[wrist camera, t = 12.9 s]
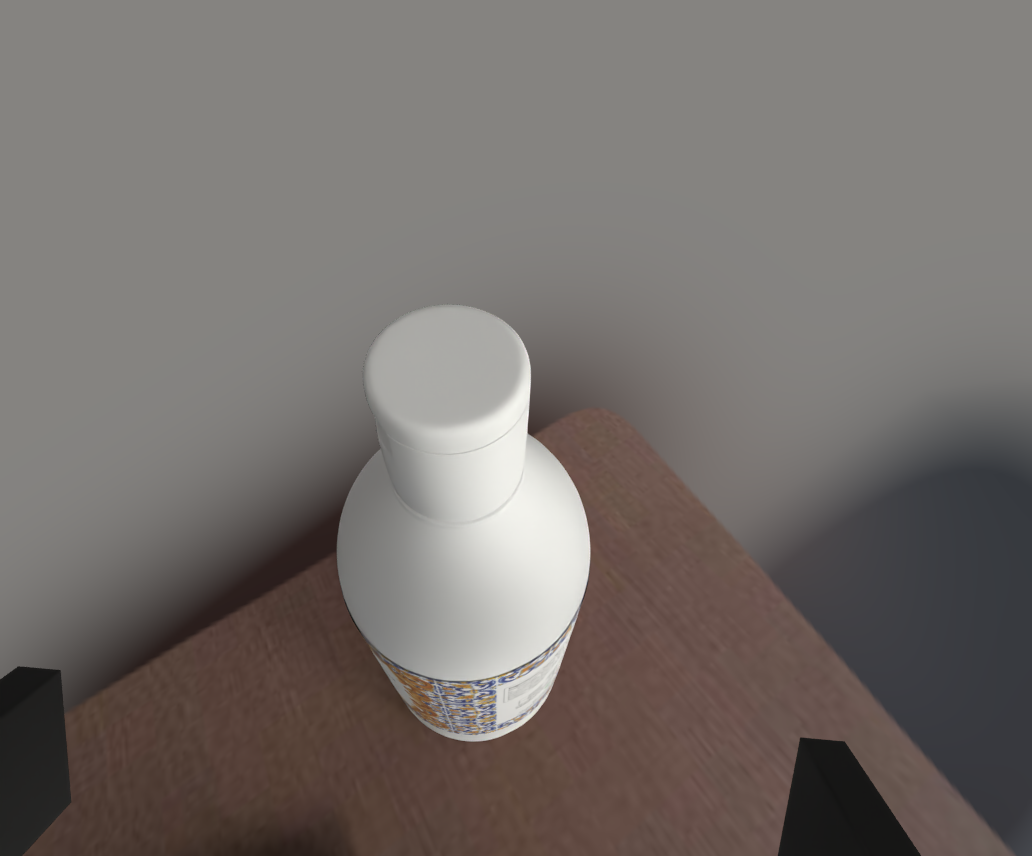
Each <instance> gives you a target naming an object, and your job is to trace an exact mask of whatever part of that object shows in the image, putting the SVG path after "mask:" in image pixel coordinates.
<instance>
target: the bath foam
mask: <svg viewBox="0 0 1032 856" xmlns="http://www.w3.org/2000/svg"><path fill="white" fill-rule="evenodd" d="M363 386H364V392H365V396H366V399H367V402H368V405H369V407H370V409H371V411H372V413H373V415H374V417H375V423H376V431H377V436H378V440H379V444H380V449H379V450H378V451H377V452H376V453H375V455H374V456H373V457H372V458H371V459H370V460H369V461H368V463H367V464H366V465H365V467H364V468H363V469H362V471H361V472H360V474H359V475H358V477H357V479H356V480H355V482H354V484H353V486H352V488H351V490H350V492H349V495H348V497H347V499H346V502H345V505H344V508H343V511H342V515H341V519H340V524H339V531H338V538H337V565H338V573H339V579H340V584H341V589H342V593H343V597H344V601H345V604H346V606H347V609H348V611H349V614H350V616H351V618H352V620H353V622H354V623H355V625H356V627H357V628H358V630H359V631H360V633H361V635H362V636H363V638H364V639H365V641H366V643H367V644H368V646H369V647H370V649H371V650H372V652H373V654H374V655H375V657H376V658H377V660H378V662H379V663H380V665H381V666H382V668H383V670H384V671H385V673H386V674H387V676H388V677H389V679H390V681H391V682H392V684H393V685H394V687H395V689H396V690H397V692H398V693H399V695H400V696H401V698H402V699H403V701H404V702H405V703H406V705H407V706H408V708H409V709H410V710H411V712H412V713H413V714H414V715H415V716H416V717H417V718H418V719H419V720H420V721H421V722H422V723H423V724H425V725H426V726H427V727H429V728H430V729H432V730H433V731H435V732H437V733H439V734H441V735H444V736H446V737H449V738H452V739H456V740H462V741H485V740H490V739H494V738H497V737H500V736H502V735H505V734H507V733H509V732H511V731H513V730H515V729H517V728H518V727H520V726H521V725H523V724H524V723H526V722H527V721H528V720H529V719H530V718H531V717H532V716H533V715H534V714H535V713H536V712H537V711H538V710H539V708H540V707H541V706H542V704H543V703H544V701H545V700H546V698H547V696H548V694H549V692H550V690H551V688H552V685H553V683H554V680H555V678H556V676H557V673H558V670H559V667H560V664H561V661H562V659H563V656H564V653H565V650H566V647H567V644H568V641H569V639H570V636H571V633H572V630H573V627H574V624H575V621H576V618H577V616H578V613H579V610H580V607H581V604H582V601H583V598H584V595H585V592H586V589H587V584H588V579H589V572H590V538H589V529H588V524H587V519H586V515H585V511H584V508H583V505H582V502H581V499H580V496H579V494H578V492H577V489H576V487H575V485H574V484H573V482H572V480H571V478H570V477H569V475H568V473H567V472H566V470H565V469H564V467H563V466H562V465H561V463H560V462H559V461H558V460H557V459H556V458H555V456H554V455H553V454H552V453H551V452H550V451H549V450H548V449H547V448H546V447H544V446H543V445H542V444H541V443H540V442H539V441H537V440H536V439H535V438H533V437H532V436H530V435H529V434H527V425H528V412H529V400H530V386H531V367H530V361H529V357H528V353H527V351H526V349H525V346H524V345H523V342H522V340H521V339H520V337H519V336H518V335H517V333H516V332H515V331H514V330H513V329H512V328H511V327H510V326H509V325H508V324H507V323H505V322H504V321H503V320H501V319H500V318H498V317H496V316H495V315H493V314H491V313H488V312H486V311H483V310H481V309H478V308H474V307H470V306H464V305H454V304H444V305H434V306H429V307H424V308H420V309H417V310H414V311H412V312H409V313H407V314H405V315H403V316H401V317H399V318H398V319H396V320H395V321H393V322H392V323H390V324H389V325H388V326H387V327H385V328H384V329H383V330H382V331H381V332H380V333H379V334H378V336H377V337H376V338H375V339H374V341H373V343H372V344H371V346H370V348H369V350H368V352H367V355H366V358H365V362H364V366H363Z"/></svg>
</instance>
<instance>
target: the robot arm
mask: <svg viewBox="0 0 1032 856" xmlns="http://www.w3.org/2000/svg"><path fill="white" fill-rule="evenodd" d="M70 803H71V793H70V781H69V769H68V757H67V744H66V732H65V720H64V707H63V695H62V683H61V671H60V670H52V669H41V668H30V667H17V668H16V669H14V670H13V671H12V672H10V673H9V674H7V675H6V676H4V677H3V678H2V679H0V856H22V855H23V854H24V853H25V852H26V851H27V850H28V849H29V848H30V846H31V845H32V844H33V843H34V842H35V841H36V840H37V839H38V838H39V837H40V836H41V834H42V833H43V832H44V831H45V830H46V829H47V828H48V827H49V826H50V825H51V824H52V822H53V821H54V820H55V819H56V818H57V817H58V816H59V815H60V814H61V813H62V812H63V810H64V809H65V808H66V807H67V806H68V805H69V804H70ZM778 856H921V855H920V853H919V852H918V850H917V849H916V847H915V846H914V844H913V843H912V841H911V840H910V838H909V837H908V835H907V834H906V832H905V831H904V830H903V828H902V827H901V825H900V824H899V822H898V821H897V819H896V818H895V816H894V815H893V813H892V812H891V810H890V809H889V807H888V806H887V804H886V803H885V801H884V800H883V798H882V797H881V795H880V794H879V792H878V791H877V789H876V788H875V786H874V785H873V783H872V782H871V780H870V779H869V777H868V776H867V774H866V773H865V771H864V770H863V768H862V767H861V765H860V764H859V762H858V761H857V759H856V758H855V756H854V755H853V753H852V752H851V750H850V749H849V747H848V746H847V744H846V743H845V742H843V741H832V740H821V739H810V738H800V742H799V747H798V753H797V758H796V763H795V768H794V774H793V779H792V784H791V789H790V795H789V800H788V805H787V810H786V816H785V821H784V826H783V831H782V837H781V842H780V847H779V852H778Z"/></svg>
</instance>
